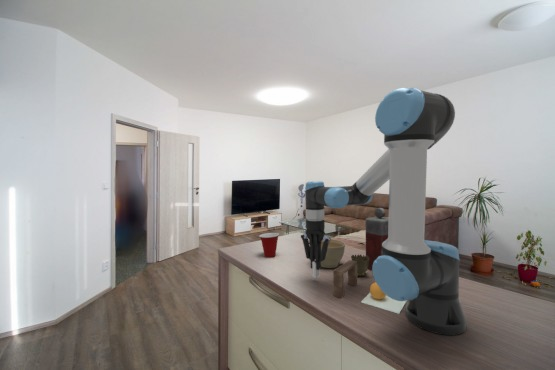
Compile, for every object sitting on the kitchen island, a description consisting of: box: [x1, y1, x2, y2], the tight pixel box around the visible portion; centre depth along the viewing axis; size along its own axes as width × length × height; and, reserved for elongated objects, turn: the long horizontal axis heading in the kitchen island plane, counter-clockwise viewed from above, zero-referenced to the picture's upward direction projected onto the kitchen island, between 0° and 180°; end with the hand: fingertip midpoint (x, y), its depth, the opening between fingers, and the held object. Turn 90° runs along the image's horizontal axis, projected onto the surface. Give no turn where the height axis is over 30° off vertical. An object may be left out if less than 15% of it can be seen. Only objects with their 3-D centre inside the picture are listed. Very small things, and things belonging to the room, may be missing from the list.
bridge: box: [332, 259, 358, 299], centre depth 96 cm, size 3×14×9 cm, turn 141°
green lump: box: [350, 254, 369, 277], centre depth 110 cm, size 8×7×8 cm
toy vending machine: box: [365, 207, 389, 271], centre depth 116 cm, size 9×11×28 cm
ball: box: [369, 281, 386, 299], centre depth 89 cm, size 6×6×6 cm
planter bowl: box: [321, 238, 346, 269], centre depth 123 cm, size 16×16×11 cm
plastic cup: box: [259, 232, 280, 259], centre depth 138 cm, size 11×11×12 cm
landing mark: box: [360, 292, 408, 315], centre depth 87 cm, size 12×12×1 cm
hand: (315, 276), depth 104 cm, fingers closed
